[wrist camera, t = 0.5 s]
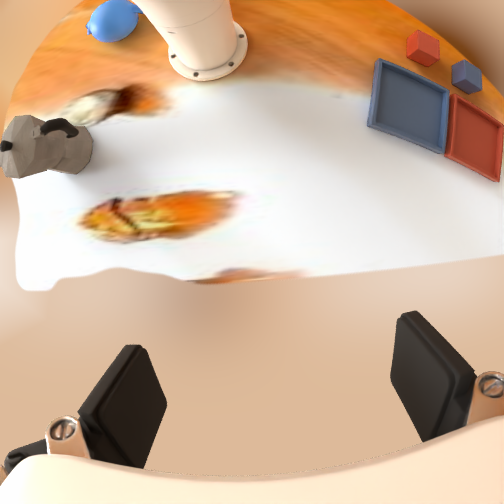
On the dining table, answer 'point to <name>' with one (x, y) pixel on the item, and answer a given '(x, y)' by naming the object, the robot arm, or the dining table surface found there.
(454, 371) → the robot arm
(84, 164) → the coffeepot
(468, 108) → the red tray
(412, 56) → the red block
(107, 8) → the blue mole toy
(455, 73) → the blue block
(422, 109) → the blue tray
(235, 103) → the dining table surface
